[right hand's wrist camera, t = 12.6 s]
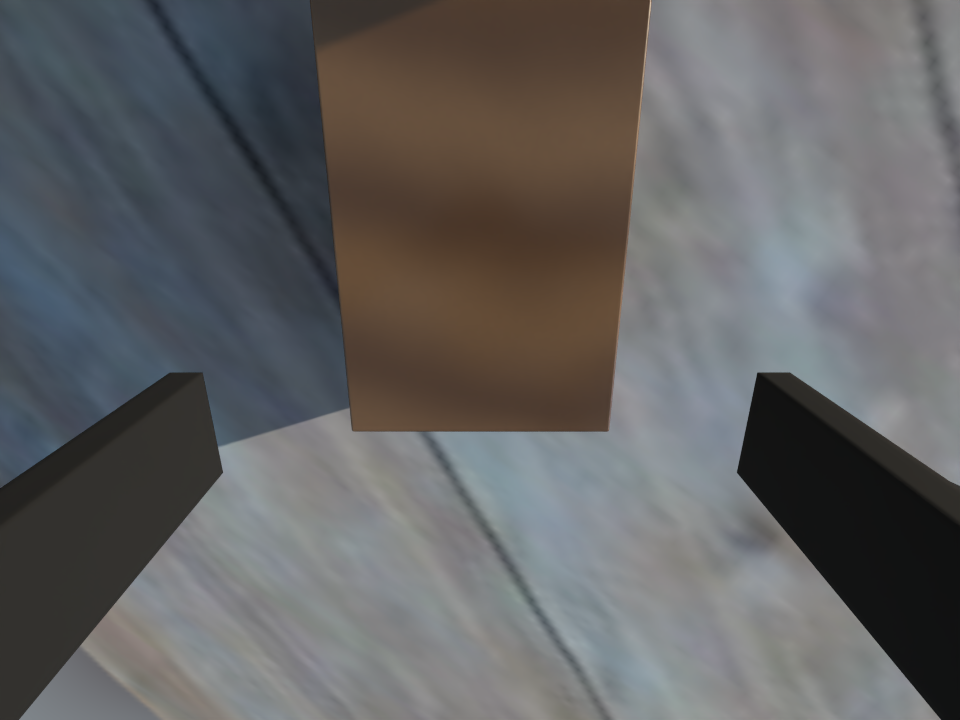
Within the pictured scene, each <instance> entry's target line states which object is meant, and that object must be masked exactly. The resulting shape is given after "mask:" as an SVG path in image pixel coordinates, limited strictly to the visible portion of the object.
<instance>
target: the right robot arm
mask: <svg viewBox="0 0 960 720" xmlns="http://www.w3.org/2000/svg"><path fill="white" fill-rule="evenodd" d="M222 473H223V470H222V465H221V460H220V456H219V451H218V446H217V441H216V436H215V431H214V426H213V421H212V416H211V412H210V407H209V402H208V397H207V392H206V387H205V382H204V377H203V373H169V374H167V375H166V376H164V377H163V378H161V379H160V380H159V381H157V382H156V383H154V384H153V385H151V386H150V387H148V388H147V389H145V390H144V391H142V392H141V393H139V394H138V395H137V396H135V397H134V398H132V399H131V400H129V401H128V402H126V403H125V404H123V405H122V406H120V407H119V408H117V409H116V410H115V411H113V412H112V413H110V414H109V415H107V416H106V417H104V418H103V419H101V420H100V421H98V422H97V423H95V424H94V425H93V426H91V427H90V428H88V429H87V430H85V431H84V432H82V433H81V434H79V435H78V436H76V437H75V438H73V439H72V440H71V441H69V442H68V443H66V444H65V445H63V446H62V447H60V448H59V449H57V450H56V451H54V452H53V453H51V454H50V455H48V456H47V457H46V458H44V459H43V460H41V461H40V462H38V463H37V464H35V465H34V466H32V467H31V468H29V469H28V470H26V471H25V472H24V473H22V474H21V475H19V476H18V477H16V478H15V479H13V480H12V481H10V482H9V483H7V484H6V485H4V486H3V487H2V488H0V720H19V719H20V718H21V716H22V715H23V714H24V713H25V712H26V710H27V709H28V708H29V707H30V706H31V704H32V703H33V702H34V701H35V700H36V698H37V697H38V696H39V695H40V693H41V692H42V691H43V690H44V689H45V687H46V686H47V685H48V684H49V683H50V681H51V680H52V679H53V678H54V677H55V675H56V674H57V673H58V672H59V670H60V669H61V668H62V667H63V666H64V664H65V663H66V662H67V661H68V660H69V658H70V657H71V656H72V655H73V654H74V652H75V651H76V650H77V649H78V647H79V646H80V645H81V644H82V643H83V641H84V640H85V639H86V638H87V637H88V635H89V634H90V633H91V632H92V631H93V629H94V628H95V627H96V626H97V624H98V623H99V622H100V621H101V620H102V618H103V617H104V616H105V615H106V614H107V612H108V611H109V610H110V609H111V608H112V606H113V605H114V604H115V603H116V601H117V600H118V599H119V598H120V597H121V595H122V594H123V593H124V592H125V591H126V589H127V588H128V587H129V586H130V585H131V583H132V582H133V581H134V580H135V578H136V577H137V576H138V575H139V574H140V572H141V571H142V570H143V569H144V568H145V566H146V565H147V564H148V563H149V562H150V560H151V559H152V558H153V557H154V555H155V554H156V553H157V552H158V551H159V549H160V548H161V547H162V546H163V545H164V543H165V542H166V541H167V540H168V539H169V537H170V536H171V535H172V534H173V532H174V531H175V530H176V529H177V528H178V526H179V525H180V524H181V523H182V522H183V520H184V519H185V518H186V517H187V516H188V514H189V513H190V512H191V511H192V509H193V508H194V507H195V506H196V505H197V503H198V502H199V501H200V500H201V499H202V497H203V496H204V495H205V494H206V493H207V491H208V490H209V489H210V488H211V486H212V485H213V484H214V483H215V482H216V480H217V479H218V478H219V477H220V476H221V474H222ZM737 473H738V474H739V476H740V477H741V478H742V479H743V480H744V482H745V483H746V484H747V485H748V486H749V488H750V489H751V490H752V491H753V493H754V494H755V495H756V496H757V497H758V499H759V500H760V501H761V502H762V503H763V505H764V506H765V507H766V508H767V509H768V511H769V512H770V513H771V514H772V516H773V517H774V518H775V519H776V520H777V522H778V523H779V524H780V525H781V526H782V528H783V529H784V530H785V531H786V532H787V534H788V535H789V536H790V537H791V539H792V540H793V541H794V542H795V543H796V545H797V546H798V547H799V548H800V549H801V551H802V552H803V553H804V554H805V555H806V557H807V558H808V559H809V560H810V562H811V563H812V564H813V565H814V566H815V568H816V569H817V570H818V571H819V572H820V574H821V575H822V576H823V577H824V578H825V580H826V581H827V582H828V583H829V585H830V586H831V587H832V588H833V589H834V591H835V592H836V593H837V594H838V595H839V597H840V598H841V599H842V600H843V601H844V603H845V604H846V605H847V606H848V608H849V609H850V610H851V611H852V612H853V614H854V615H855V616H856V617H857V618H858V620H859V621H860V622H861V623H862V624H863V626H864V627H865V628H866V629H867V631H868V632H869V633H870V634H871V635H872V637H873V638H874V639H875V640H876V641H877V643H878V644H879V645H880V646H881V647H882V649H883V650H884V651H885V652H886V654H887V655H888V656H889V657H890V658H891V660H892V661H893V662H894V663H895V664H896V666H897V667H898V668H899V669H900V670H901V672H902V673H903V674H904V675H905V677H906V678H907V679H908V680H909V681H910V683H911V684H912V685H913V686H914V687H915V689H916V690H917V691H918V692H919V693H920V695H921V696H922V697H923V698H924V700H925V701H926V702H927V703H928V704H929V706H930V707H931V708H932V709H933V710H934V712H935V713H936V714H937V715H938V716H939V718H940V719H941V720H960V486H958V485H956V484H954V483H952V482H950V481H948V480H947V479H945V478H944V477H942V476H941V475H939V474H938V473H936V472H935V471H934V470H932V469H931V468H929V467H928V466H926V465H925V464H923V463H922V462H920V461H919V460H917V459H916V458H914V457H913V456H912V455H910V454H909V453H907V452H906V451H904V450H903V449H901V448H900V447H898V446H897V445H895V444H894V443H892V442H891V441H889V440H888V439H887V438H885V437H884V436H882V435H881V434H879V433H878V432H876V431H875V430H873V429H872V428H870V427H869V426H867V425H866V424H865V423H863V422H862V421H860V420H859V419H857V418H856V417H854V416H853V415H851V414H850V413H848V412H847V411H845V410H844V409H843V408H841V407H840V406H838V405H837V404H835V403H834V402H832V401H831V400H829V399H828V398H826V397H825V396H823V395H822V394H821V393H819V392H818V391H816V390H815V389H813V388H812V387H810V386H809V385H807V384H806V383H804V382H803V381H801V380H800V379H799V378H797V377H796V376H794V375H793V374H791V373H757V377H756V382H755V387H754V392H753V397H752V402H751V407H750V412H749V416H748V421H747V426H746V431H745V436H744V441H743V446H742V451H741V456H740V460H739V465H738V470H737Z"/></svg>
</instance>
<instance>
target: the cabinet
mask: <svg viewBox="0 0 960 720" xmlns="http://www.w3.org/2000/svg"><path fill="white" fill-rule="evenodd" d="M651 2H652V0H310V7H311V17H312V27H313V38H314V48H315V58H316V68H317V78H318V89H319V99H320V109H321V119H322V130H323V140H324V150H325V160H326V170H327V181H328V191H329V201H330V211H331V221H332V232H333V242H334V252H335V262H336V273H337V283H338V293H339V303H340V313H341V324H342V334H343V344H344V354H345V365H346V375H347V385H348V395H349V405H350V416H351V426H352V431H598V432H607V431H609V425H610V415H611V405H612V395H613V385H614V375H615V365H616V355H617V345H618V334H619V324H620V314H621V304H622V294H623V284H624V274H625V264H626V254H627V244H628V234H629V224H630V214H631V204H632V194H633V184H634V173H635V163H636V153H637V143H638V133H639V123H640V113H641V103H642V93H643V83H644V73H645V63H646V53H647V43H648V33H649V23H650V12H651Z"/></svg>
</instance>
